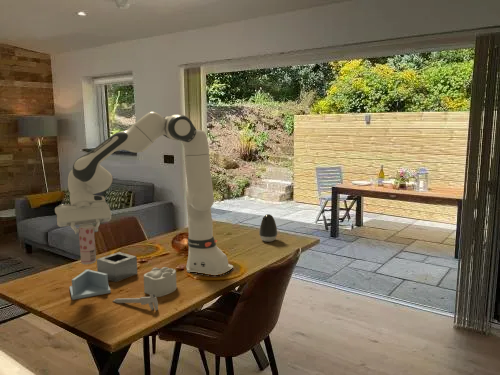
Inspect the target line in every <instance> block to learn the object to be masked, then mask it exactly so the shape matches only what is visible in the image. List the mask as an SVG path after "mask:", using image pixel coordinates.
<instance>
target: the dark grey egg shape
mask: <svg viewBox="0 0 500 375" xmlns="http://www.w3.org/2000/svg"><path fill="white" fill-rule="evenodd" d="M259 225H260V226H259V234H258V235H259V237H260V239H261V240H262V241H263V242H269V243H270V242H273V241H276V240H277V237H278V228H277V223H276V220H275V219H274V217H273V215H272V214H265V215H264V216H263V217H262V219H261V223H260V224H259Z"/></svg>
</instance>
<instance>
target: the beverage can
mask: <svg viewBox="0 0 500 375" xmlns="http://www.w3.org/2000/svg"><path fill="white" fill-rule="evenodd" d="M78 228H79V234H78V238H79V239H78V240H79V250H80V251H79V252H80V253H79V254H80V263H81V264H82V265H92V264H94V263H96V262H97V253H96V252H97V251H96V250H97V249H96V240H95V239H96V238H95V232H94V223H91V224H82V225H78Z"/></svg>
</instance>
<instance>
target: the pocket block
mask: <svg viewBox="0 0 500 375" xmlns="http://www.w3.org/2000/svg"><path fill="white" fill-rule="evenodd" d="M137 260H138V257H137V255H133V254H132V255H131V254H128V253H124V252H121V251H118V252H114V253H112V254H109V255H105V256H102V257H99V258H96V267H97V269H96V270H97V272H101V273H105V274H108V281H111V282H114V283H117V282H120V281H123V280H125V279H128V278H130V277H132V276H136V275H137V274H138V261H137Z"/></svg>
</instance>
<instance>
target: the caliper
mask: <svg viewBox="0 0 500 375" xmlns="http://www.w3.org/2000/svg"><path fill="white" fill-rule="evenodd" d="M112 302H113V303H117V304H134V303H135V304H141V306H143V305H147V304H148V305H149V308H150V310H151V311H154V310H155V311H158V310H159V301H158V297H155V295H154V294H153V295H152V294H151V295H149V296H141V297H130V298H129V297H127V298H125V297H123V298H115V299H114V300H112Z"/></svg>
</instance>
